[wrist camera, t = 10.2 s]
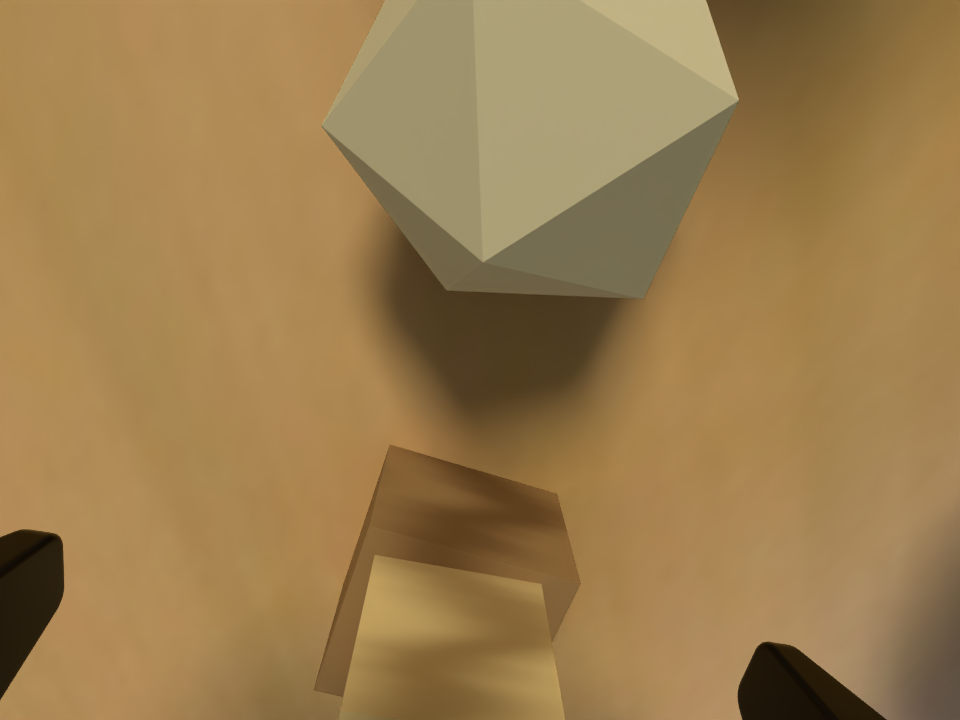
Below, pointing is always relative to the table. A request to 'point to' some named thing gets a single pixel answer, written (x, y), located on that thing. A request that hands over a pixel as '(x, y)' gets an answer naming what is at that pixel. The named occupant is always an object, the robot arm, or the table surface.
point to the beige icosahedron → (536, 135)
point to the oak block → (451, 648)
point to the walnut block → (452, 541)
